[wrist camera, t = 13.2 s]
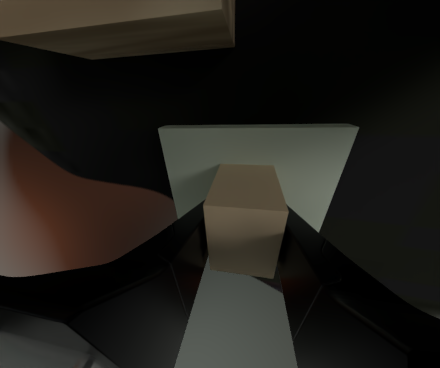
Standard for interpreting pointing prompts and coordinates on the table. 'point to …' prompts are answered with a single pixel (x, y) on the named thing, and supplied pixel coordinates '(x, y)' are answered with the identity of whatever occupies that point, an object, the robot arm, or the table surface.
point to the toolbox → (118, 26)
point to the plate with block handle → (254, 183)
